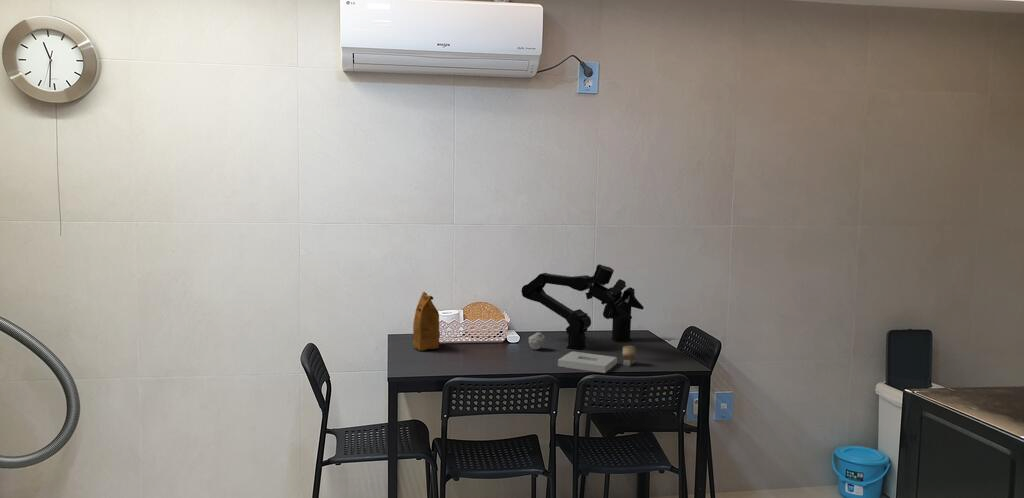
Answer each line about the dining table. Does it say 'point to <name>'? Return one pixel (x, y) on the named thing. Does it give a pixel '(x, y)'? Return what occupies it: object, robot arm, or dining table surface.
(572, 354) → the hub plate
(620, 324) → the aerosol can
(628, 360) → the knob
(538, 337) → the grey rock
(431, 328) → the coffee package
